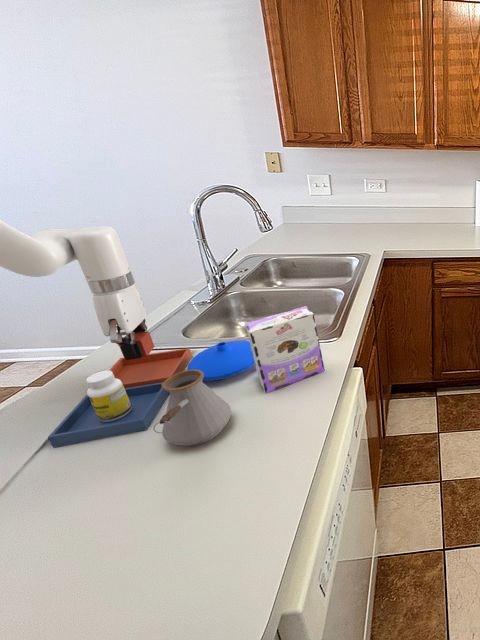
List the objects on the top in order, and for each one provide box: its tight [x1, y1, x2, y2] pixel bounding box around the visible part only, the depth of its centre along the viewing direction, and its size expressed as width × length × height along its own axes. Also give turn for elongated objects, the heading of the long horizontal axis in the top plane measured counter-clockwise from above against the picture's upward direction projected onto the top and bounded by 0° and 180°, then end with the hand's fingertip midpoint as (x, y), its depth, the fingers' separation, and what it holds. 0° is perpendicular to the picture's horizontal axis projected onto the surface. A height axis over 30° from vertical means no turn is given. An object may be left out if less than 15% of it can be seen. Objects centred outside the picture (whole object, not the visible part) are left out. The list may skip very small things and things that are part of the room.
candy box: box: [244, 305, 325, 394], centre depth 94 cm, size 14×6×16 cm, turn 130°
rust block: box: [119, 330, 155, 359], centre depth 94 cm, size 4×4×4 cm
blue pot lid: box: [187, 340, 255, 381], centre depth 99 cm, size 16×16×7 cm
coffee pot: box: [153, 369, 232, 447], centre depth 73 cm, size 21×12×15 cm, turn 25°
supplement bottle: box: [85, 369, 132, 422], centre depth 82 cm, size 5×5×10 cm
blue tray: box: [47, 382, 170, 449], centre depth 84 cm, size 15×13×3 cm
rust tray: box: [109, 347, 193, 389], centre depth 97 cm, size 15×13×3 cm
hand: (139, 351), depth 95 cm, fingers closed on rust block, 4 cm apart
